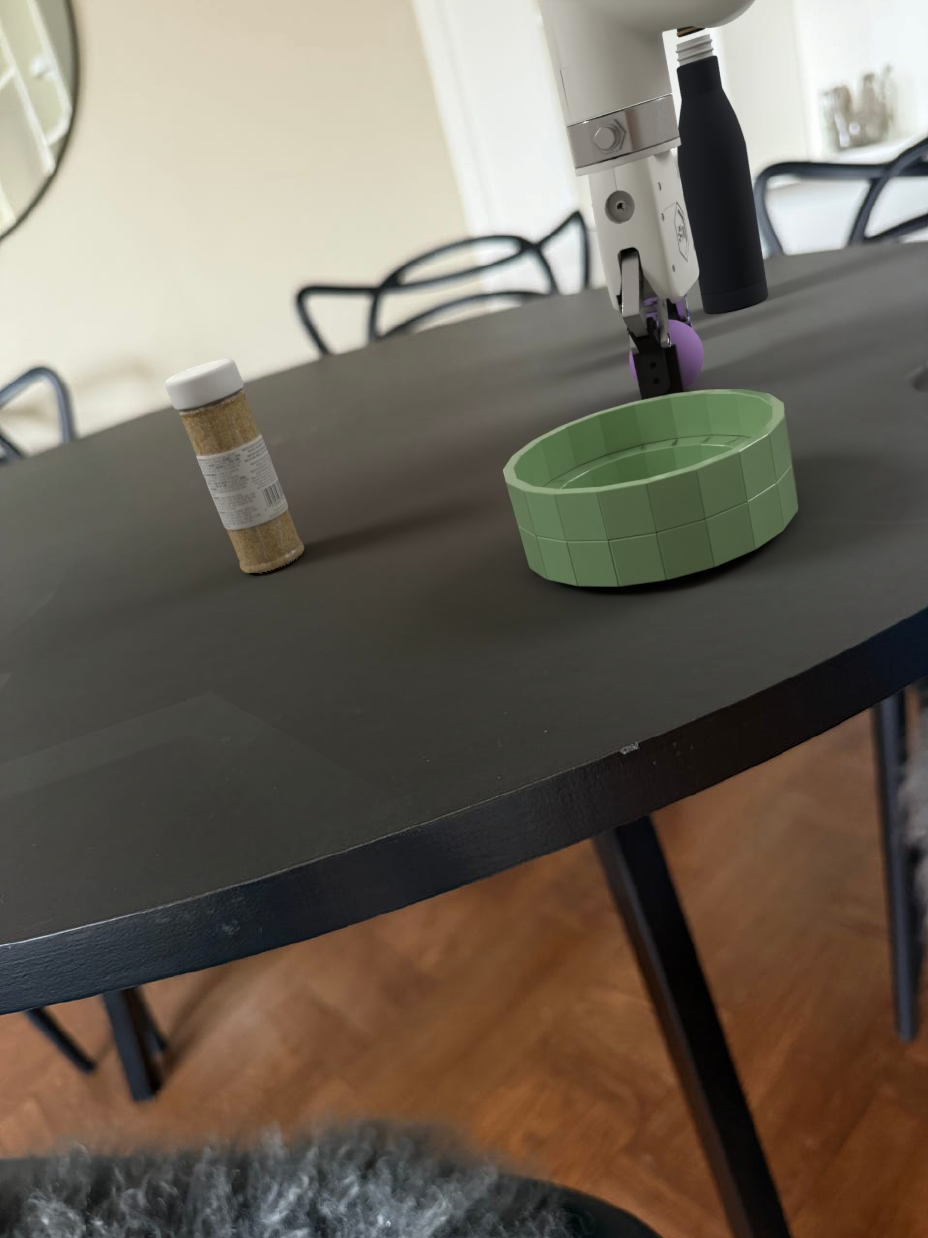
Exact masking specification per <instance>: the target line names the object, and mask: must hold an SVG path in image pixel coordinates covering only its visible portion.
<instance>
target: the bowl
mask: <svg viewBox="0 0 928 1238" xmlns="http://www.w3.org/2000/svg"><path fill="white" fill-rule="evenodd" d="M791 447H792V446H791V441H790V433H789V427H788V420H787V414H786V406H785V403H784V401H782V400H780V399H778V398H777V397H776V396H774V395H772V394H771V393H768V392H761V391H756V390H750V389H745V388H730V389H729V388H726V389H724V388H723V389H720V388H719V389H717V388H716V389H715V388H713V389H712V388H711V389H701V390H694V391H693V390H692V391H685V392H683V393H675V394H669V395H664V396H659V397H655V398H650V399H645V400H642V399H641V400H635V401H632V402H628V403H625V404H621V405H618V406H614V407H611V408H607V409H604V410H600V411H597V412H594V413H592V414H588V415H586V416H583V417H581V418H578V419H576V420H573V421H570V422H568V423H565V424H562V425H560V426H557V427H556V428H554V429H551V430H550V431H548V432H546V433H544V434H542V435H541V436H540V435H539V436H538V437H537V438H535V439H533V440H531V441H530V442H528V443H527V444H525V446H523V447H522V448H521V449H519V450H517V452H515V453H514V454H513V455H512V456H511V457H510V458H509V460H508V462H507V463H506V464H505V466H504V468H503V470H502V474H503V477H504V481H505V485H506V487H507V491H508V496H509V498H510V502H511V506H512V509H513V513H514V517H515V520H516V524H517V527H518V531H519V535H520V539H521V542H522V546H523V549H524V553H525V556H526V557H525V558H526V561H527V564H528V567H529V569H530V570H531V571H533V572H535V573H536V574H537V575H539V576H541V577H542V578H544V579H545V580H547V581H551V582H556V583H561V584H565V585H570V586H575V587H584V588H585V587H589V588H590V587H592V588H594V587H597V588H598V587H599V588H603V587H604V588H605V587H606V588H609V587H610V588H618V587H628V586H635V585H642V584H650V583H657V582H663V581H670V580H672V579H676V578H680V577H684V576H688V575H691V574H695V573H698V572H702V571H706V570H710V569H713V568H716V567H719V566H721V565H724V564H725V563H728V562H730V561H732V560H735V559H737V558H739V557H742V556H744V555H747V554H749V553H751V552H754V551H755V550H757V549H760V547H762V546H763V545H765V544H766V543H767V542H769V541H771V540H772V539H773V538H775V537H777V536H778V535H779V534H781V533H783V531H784V530H785V529H786V528H787V526H788V525H789V524H790V522H791V521H792V520H793V518H794V517H795V515H796V514H797V513H798V511H799V497H798V496H799V494H798V487H797V480H796V473H795V468H794V461H793V455H792V448H791Z"/></svg>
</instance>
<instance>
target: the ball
mask: <svg viewBox="0 0 928 1238" xmlns="http://www.w3.org/2000/svg"><path fill="white" fill-rule="evenodd" d="M657 326H658V321H657ZM669 329H670V337H671V345H672V344H676V346H677V351H678V356H679V362H680V367H681V372H682V378H683V383H684V388H685V390H686V389H688V388H689V387H690V386H691V385H692V384H693V383H694V382H695V381H696V380H697V378H698V377H699V375H700V373H701V370H702V368H703V365H704V361H705V360H704V359H705V358H704V357H705V353H704V352H705V351H704V347H703V343H702V340H701V338H700V337H699V335H698V333H697V332H696V331H695V330H694V328H693V329H692V328H691V327H689V326H688V325H686V324H684V323H682V322H680V321H676V320H669ZM628 356H629V357H628V363H629V364H628V365H629V370H630V372H631V375H632V377H633V378H634V380H635V381H636V383H637V384H638V380H637V375H636V370H635V366H634V361H633V356H632V352H631V349H630V350H629V355H628Z"/></svg>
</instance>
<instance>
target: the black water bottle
mask: <svg viewBox="0 0 928 1238" xmlns="http://www.w3.org/2000/svg"><path fill="white" fill-rule="evenodd" d="M705 29H706V28H698V27H694V26H689V27H683V28H678V29H676V37H678V38H679V39H680V38H684V37H687V36H691V35H693V34H697V33H699V32H702V31H704V30H705ZM712 42H713V38H711V33H707V34H703V35H701V36H697V37H694V38H691V39H688V40H685V41H681V42H679V43H677V44H676V45H675V46H676V50H675V53H676V54H677V57H678V58H677V59H676V61H677V62H678V63H679V66H678V67H677V68H676V77H677V82H678V87H679V94H680V99H681V101H680V110H679V117H678V123H677V124H678V130H679V137H680V141H681V145H680V146H678V147H676V149H677V150H676V152H677V153H676V154H677V156H676V157H677V169H678V175H679V180H680V184H681V188H682V192H683V197H684V201H685V206H686V210H687V215H688V220H689V224H690V229H691V234H692V238H693V243H694V247H695V252H696V257H697V261H698V266H699V276H698V279H697V281H698V287H699V293H700V297H701V298H700V299H701V303H702V304H701V305H702V310H703V312H704V313H705V314H713V315H714V314H722V313H728V312H729V313H730V312H734V311H738V310H741V309H745V308H748V307H751V306H755V305H757V304H759V303H761V302H763V301H765V300H766V299H767V298H768V297H769V290H768V283H767V277H766V275H767V274H766V268H765V262H764V254H763V248H762V241H761V236H760V227H759V222H758V213H757V209H756V202H755V201H756V200H755V195H754V188H753V182H752V175H751V169H750V161H749V154H748V148H747V147H748V146H747V142H746V139H745V136H744V132H743V130H742V127H741V124H740V121H739V119H738V116H737V114H736V111H735V109H734V108H733V105H732V103H731V102H730V100H729V98H728V95H727V94H726V91H724V88H723V83H722V77H721V71H720V64H719V58H718V56H717V55H714V53H713V51H714V50H715V49H714V47H713V46H712Z"/></svg>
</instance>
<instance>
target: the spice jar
mask: <svg viewBox="0 0 928 1238" xmlns="http://www.w3.org/2000/svg"><path fill="white" fill-rule="evenodd" d="M244 385H245V384H244V381H243V379H242V376H241V373H240V371H239V368H238V366H237V364H236V361H235V360H234V359H232V358H220V359H217V360H212V361H208V362H205V363H201V364H199V365H195V366H193V367H190V368H188V369H185V370H182V371H180V372H178V373H176V374H174V375H173V376H170V377H169V378H168V379H166V381H165V382H164V387H165V389H166V392H167V395H168V397H169V400H170V402H171V404H172V407H173V409H174V410H178V415H179V417H180V418H181V421H182V423H183V425H184V428H185V430H186V433H187V435H188V438H189V441H190V443H191V445H192V448H193V452H194V453H195V457H196V460H197V463H198V465H199V467H200V470H201V472H202V475H203V477H204V479H205V482H206V486H207V488H208V491H209V493H210V495H211V497H212V500H213V503H214V505H215V507H216V510H217V512H218V515H219V518H220V520H221V522H222V524H223V527H224V528H225V529H226V532H227V535H228V536H229V538H230V541H231V543H232V546H233V548H234V550H235V553H236V556H237V559H238V560H239V568H240V569H241V571H242V572H243V573H245V574H249V573H259V574H263V573H262V572H266V573H268V572H267V571H270V572H272V571H271V570H273V571H275V570H274V569H276V568H278V569H280V568H279V567H281V568H283V567H282V566H284V567H285V566H287V565H289V564H291V563H293V562H295V561H296V560H298V559H299V558H300V557H301V555H302V554H303V552H304V550H305V545H304V543H303V541H302V540H301V539H300V536H299V534H298V532H297V529H296V527H295V523H294V522H293V519H292V516H291V513H290V511H289V504H288V502H287V499H286V495H285V494H284V491H283V488H282V485H281V483H280V479H279V478H278V475H277V472H276V469H275V467H274V464H273V462H272V459H271V456H270V453H269V452H268V449H267V445H266V443H265V441H264V438H263V435H262V433H260V431H259V428H258V426H257V422H256V420H255V419H254V415H253V412H252V410H251V408H250V404H249V402H248V401H247V397H246V390H245V389H243V387H244ZM299 556H300V557H299ZM298 557H299V558H298ZM295 559H296V560H295ZM294 560H295V561H294ZM292 561H293V562H292ZM290 562H291V563H290ZM286 564H287V565H286ZM276 570H277V569H276Z"/></svg>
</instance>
